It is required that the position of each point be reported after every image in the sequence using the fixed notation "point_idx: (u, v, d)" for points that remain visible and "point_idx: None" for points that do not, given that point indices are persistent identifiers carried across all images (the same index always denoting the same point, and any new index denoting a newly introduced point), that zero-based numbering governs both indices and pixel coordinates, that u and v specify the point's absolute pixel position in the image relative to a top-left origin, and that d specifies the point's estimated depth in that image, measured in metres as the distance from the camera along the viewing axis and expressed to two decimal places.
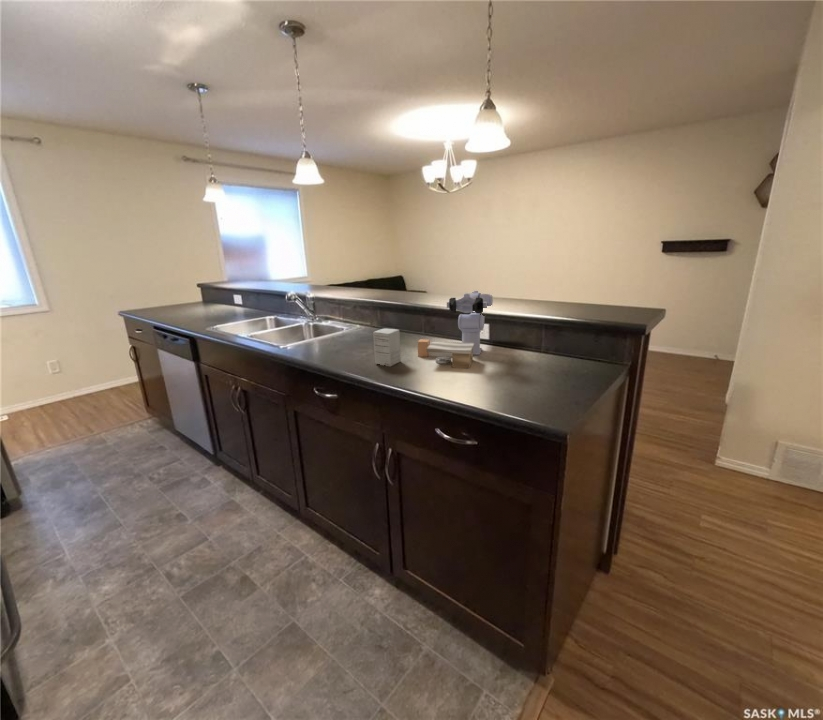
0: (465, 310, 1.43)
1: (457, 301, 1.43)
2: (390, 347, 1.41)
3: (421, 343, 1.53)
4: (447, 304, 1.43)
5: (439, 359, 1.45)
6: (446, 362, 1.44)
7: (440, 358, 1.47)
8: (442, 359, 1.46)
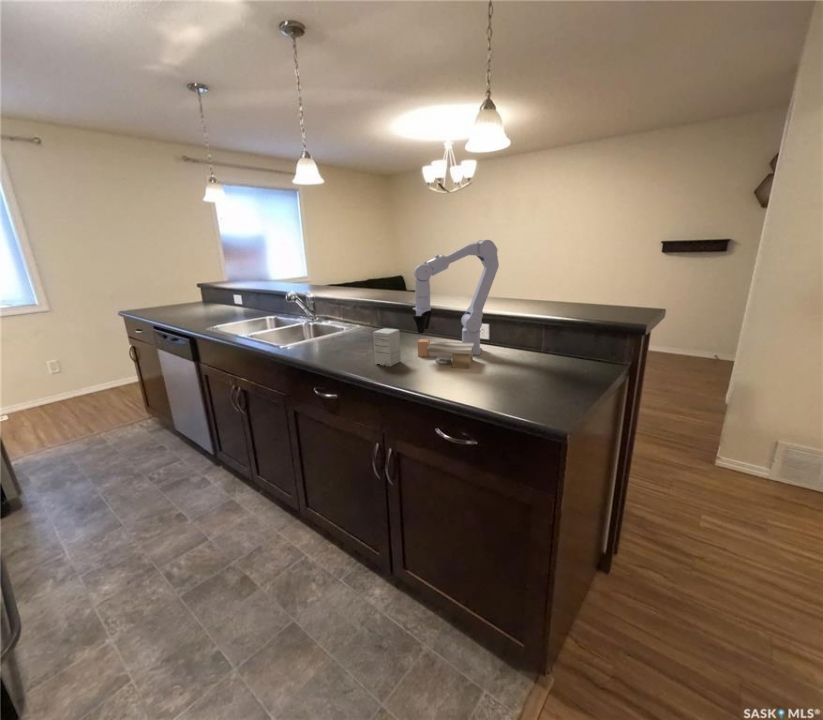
0: None
1: None
2: (390, 347, 1.41)
3: (421, 343, 1.53)
4: None
5: (439, 359, 1.45)
6: (446, 362, 1.44)
7: (440, 358, 1.47)
8: (442, 359, 1.46)
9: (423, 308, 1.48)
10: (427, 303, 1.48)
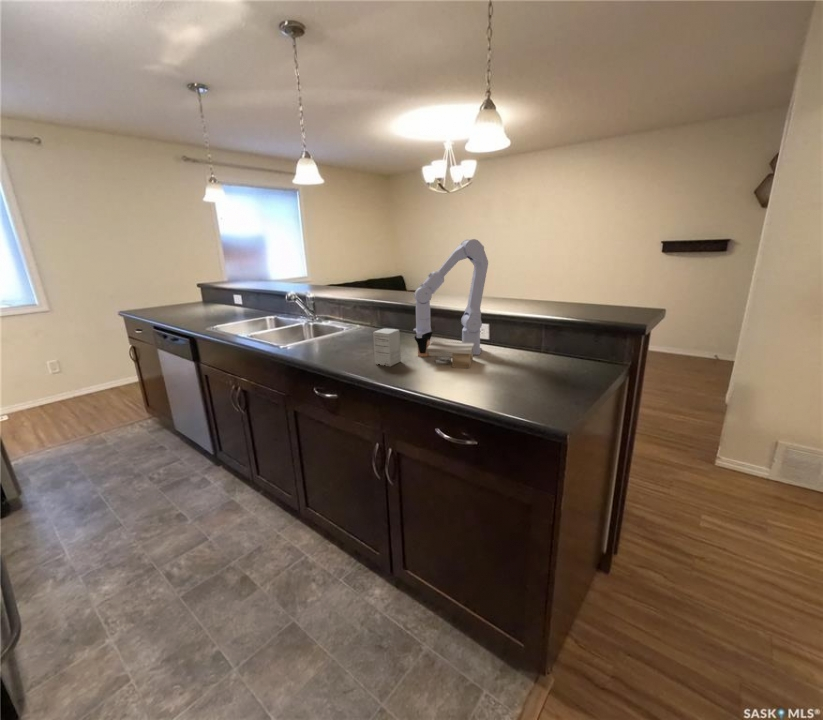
0: None
1: None
2: (390, 347, 1.41)
3: None
4: None
5: (439, 359, 1.45)
6: (446, 362, 1.44)
7: (440, 358, 1.47)
8: (442, 359, 1.46)
9: (423, 330, 1.51)
10: (427, 325, 1.51)
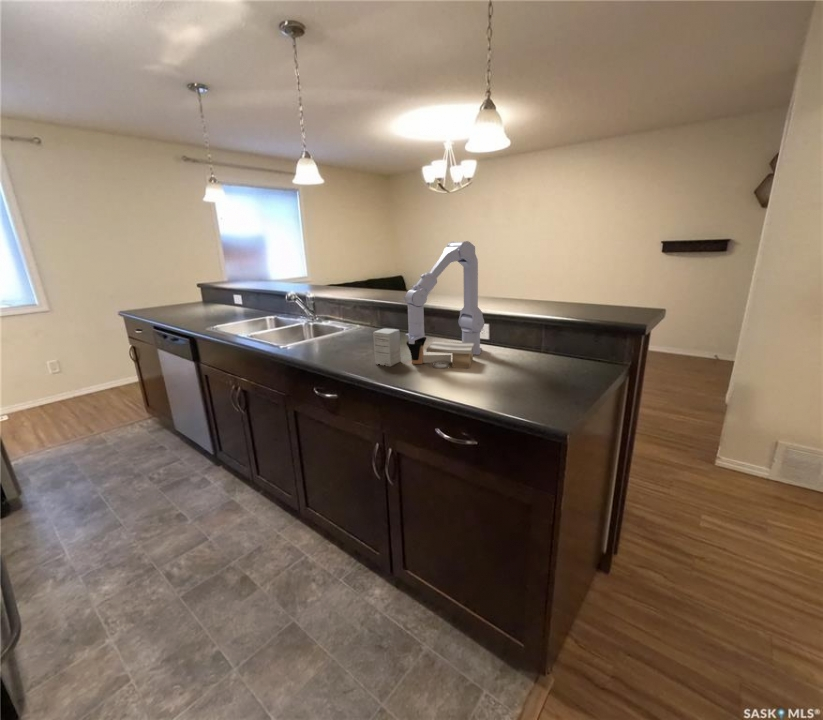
0: None
1: None
2: (390, 347, 1.41)
3: None
4: None
5: (436, 364, 1.39)
6: (444, 366, 1.38)
7: (437, 362, 1.41)
8: (439, 363, 1.40)
9: (416, 335, 1.40)
10: (420, 330, 1.40)
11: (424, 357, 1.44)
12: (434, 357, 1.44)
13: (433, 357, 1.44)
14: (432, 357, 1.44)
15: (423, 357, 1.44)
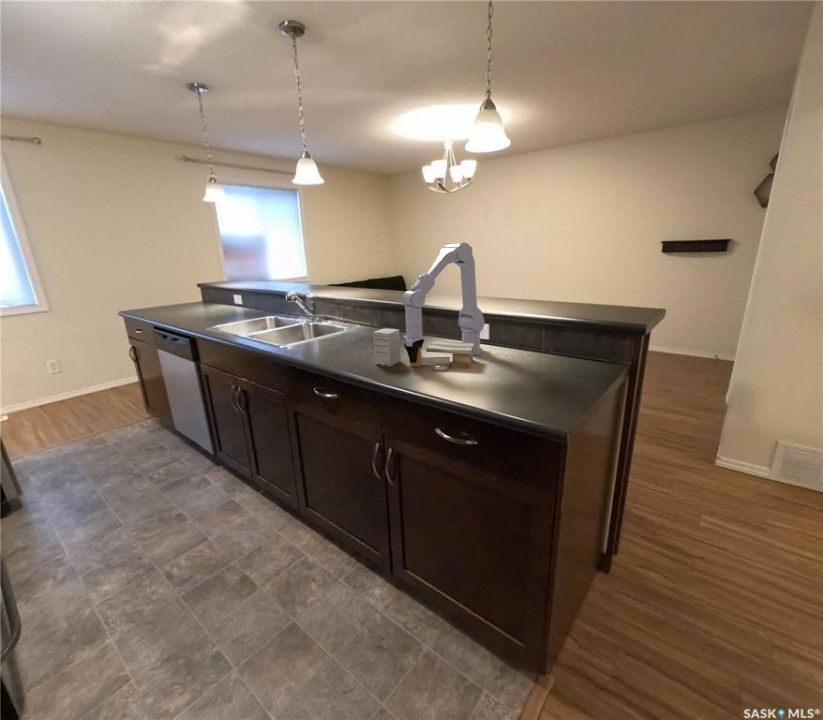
0: None
1: None
2: (390, 347, 1.41)
3: None
4: None
5: (436, 366, 1.37)
6: (443, 369, 1.35)
7: (436, 365, 1.39)
8: (439, 365, 1.38)
9: (414, 337, 1.37)
10: (418, 332, 1.37)
11: (422, 359, 1.41)
12: (432, 359, 1.41)
13: (431, 359, 1.41)
14: (430, 359, 1.41)
15: (421, 359, 1.41)
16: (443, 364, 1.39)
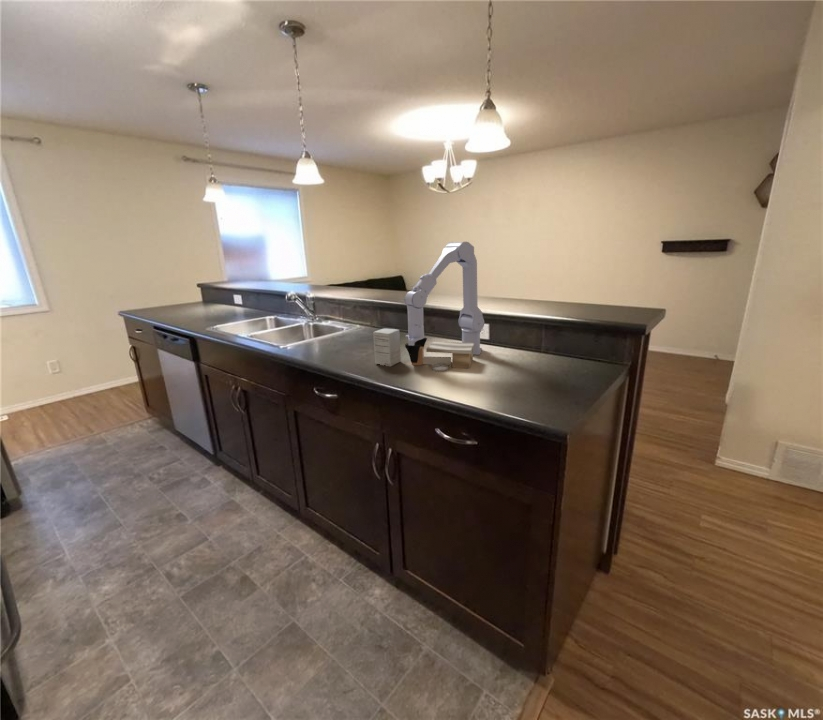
0: None
1: None
2: (390, 347, 1.41)
3: None
4: None
5: (436, 367, 1.37)
6: (443, 369, 1.35)
7: (436, 365, 1.39)
8: (439, 366, 1.38)
9: (416, 336, 1.40)
10: (420, 331, 1.40)
11: (424, 358, 1.44)
12: (434, 359, 1.43)
13: (433, 359, 1.43)
14: (432, 359, 1.43)
15: (423, 358, 1.44)
16: (443, 364, 1.39)
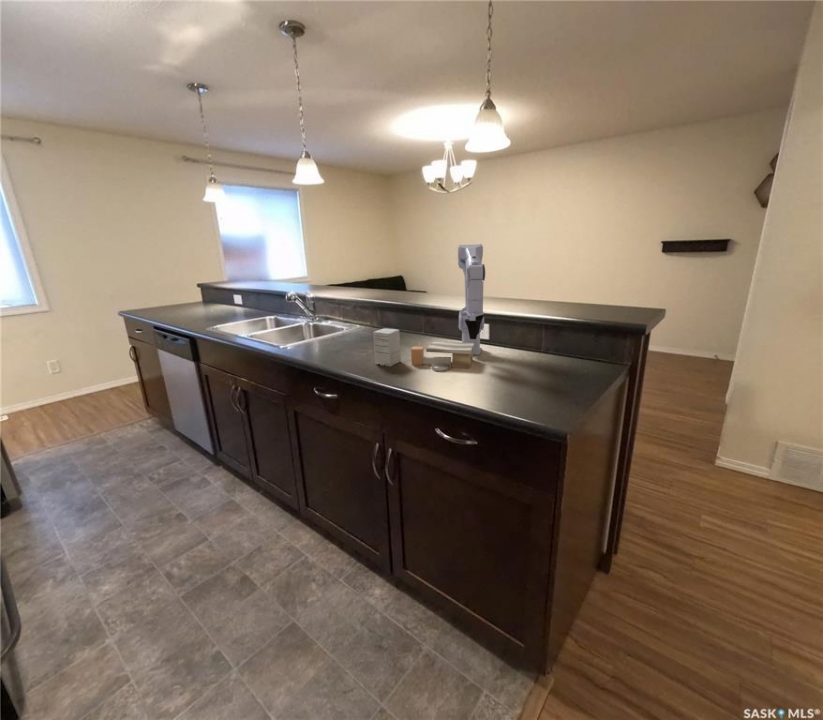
0: None
1: None
2: (390, 347, 1.41)
3: (415, 351, 1.42)
4: None
5: (436, 367, 1.37)
6: (443, 369, 1.35)
7: (436, 365, 1.39)
8: (439, 366, 1.38)
9: (476, 312, 1.36)
10: (480, 306, 1.36)
11: (424, 358, 1.44)
12: (434, 359, 1.43)
13: (433, 359, 1.43)
14: (432, 359, 1.43)
15: (423, 358, 1.44)
16: (443, 364, 1.39)
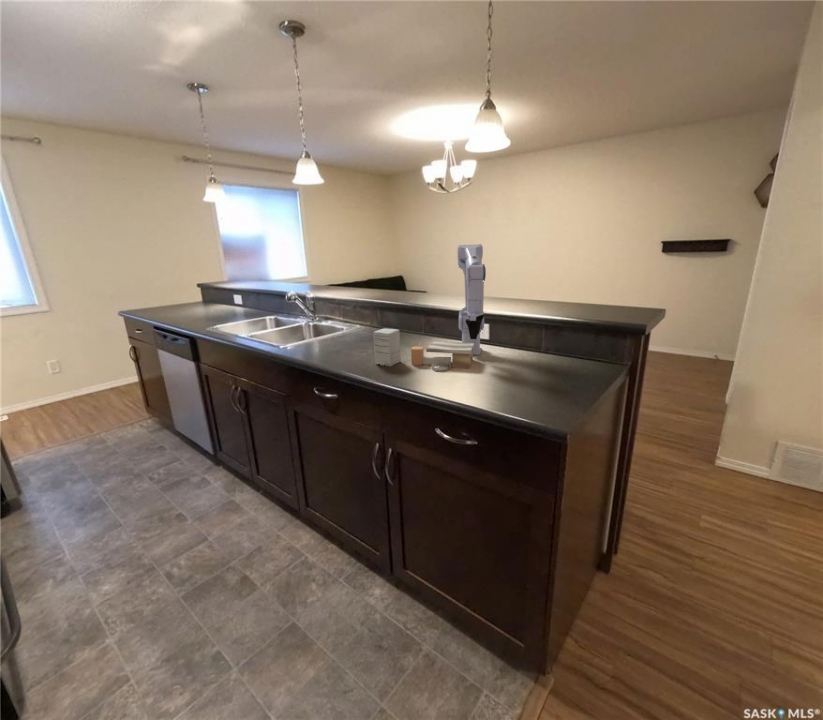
0: None
1: None
2: (390, 347, 1.41)
3: (415, 351, 1.42)
4: None
5: (436, 367, 1.37)
6: (443, 369, 1.35)
7: (436, 365, 1.39)
8: (439, 366, 1.38)
9: (476, 312, 1.36)
10: (481, 306, 1.36)
11: (424, 358, 1.44)
12: (434, 359, 1.43)
13: (433, 359, 1.43)
14: (432, 359, 1.43)
15: (423, 358, 1.44)
16: (443, 364, 1.39)
